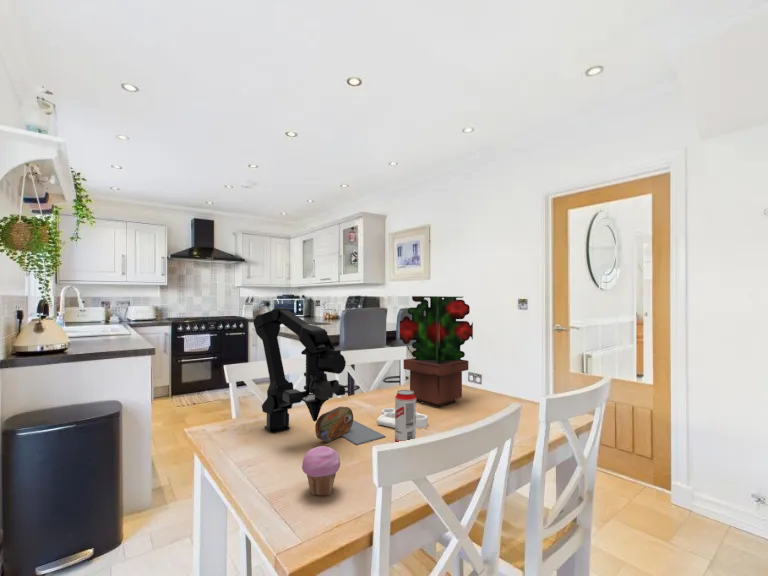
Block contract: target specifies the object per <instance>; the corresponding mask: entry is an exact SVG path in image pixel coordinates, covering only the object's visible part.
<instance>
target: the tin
mask: <svg viewBox="0 0 768 576" xmlns="http://www.w3.org/2000/svg"><path fill="white" fill-rule="evenodd" d="M353 420H354V413H353V411H352V409H351V408H350V407H349V406H338V407H335V408H332V409H331V410H329V411H327V412H324V413H322V414H320V416H318V418H317V421H315V429H314V431H315V436H316V437H317V439H318V440H319V441H322V442H325V443H330V442H332V441H334V440H335V439H337V438H340V437H342V436H341V435H343V434H345V433H347V432H348V431H349V430H350V428H351V426H352V423H353Z"/></svg>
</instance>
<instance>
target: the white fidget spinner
mask: <svg viewBox="0 0 768 576" xmlns="http://www.w3.org/2000/svg"><path fill="white" fill-rule="evenodd" d="M376 424H377V425H379V426H385V427H389V428H391V429H395V408H393V407H387V408H383V409H382V410H381V415H380V416H378V417H377V419H376ZM426 427H428V415H427V414H423V413H419V412H418V411H416V429H417V428H418V429H424V428H426Z"/></svg>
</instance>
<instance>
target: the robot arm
mask: <svg viewBox="0 0 768 576" xmlns="http://www.w3.org/2000/svg"><path fill="white" fill-rule="evenodd" d="M281 325H284V326H285V327H286V328H287V329H289V330H290V331H291V332H293V333H294V334H295V335H296V336H298V341H299V342H300V343H301V344H302V346H303V347H304V349H303V350H302V351H301V355H303V356H304V355H305V372H303V376H304V377H305V385H304V386H303V391H301V390H298V389H294V383H293V382H292V381H290V382H289V381H288V380H287V379H286V375H285V369H284V365H283V360H282V355H281V350H280V345H279V344H280V343H279V339H278V338H279V334H280V331H281ZM253 326H254V330H255V333H256V335H257V336H258V337H259V338H260V340H262V344H263V350H264V357H265V360H266V361H265V362H266V366H267V372H268V376H269V386H268V387H267V391H266V394H267V397H266V400H265V401H263V403H262V404H261V411H262V412H263V413H265V414H266V425H264V429H266V431H268V432H269V433H271V434H274V433H278V432H282V431H287V430H290V429H291V428H290V412H289V410H290V409H292V408H293V404H299V403H301V402H304V403H305V405H306V407H307V409H308V412H309V415H310V417H311V419H312V421H313V422H314V423H316V422H317V420H318V418H319V415H320V412H321V409H322V407H323V405H324V403H325V402H326V401H329V400H330V399H332V398H334V394H335V395H336V397H339V396H345V395H346V388H345V386H344V385H343V384H340V381H339V380H338V379H331V380H328V374H327V373H331V374H336V375H339V374H341V373H343V371H344V370H345V368H346V364H347V362H346V359H345V358H346V357H344V355H343V354H341V350H340V349H335V347H334V343H332V340H331V338H330V337H329V335H328V331H327V330H326V329H325V328H322V327H320V326H317V325H313V324H312V325H311V324H309V323H307V322H306V321H304V320H303V319H301V318H300V317H298V316H297V315H296V314H295V313H293V312H291V311H290V309H289V308H286V307H275V308H273V309H272V310H269V311H266V312H264V313H261V314H257V315H256V317H255V318H254V320H253Z"/></svg>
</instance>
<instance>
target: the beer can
mask: <svg viewBox="0 0 768 576" xmlns="http://www.w3.org/2000/svg"><path fill="white" fill-rule="evenodd" d="M394 397H395V399H394V401H395V402H394V403H395V404H394V407H395V408H394V409H395V428H394V443H395V442H399V441H406V440H410V439H415V438H416V437H417V436H416V434H417V432H416V431H417V430H416V429H417V428H416V412H417V409H416V407H417V405H416V403H417V401H416V398H415V395H414V392H413V391H411V390H410V389H400V390H397V391H396V395H395V396H394ZM416 439H417V438H416Z"/></svg>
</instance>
